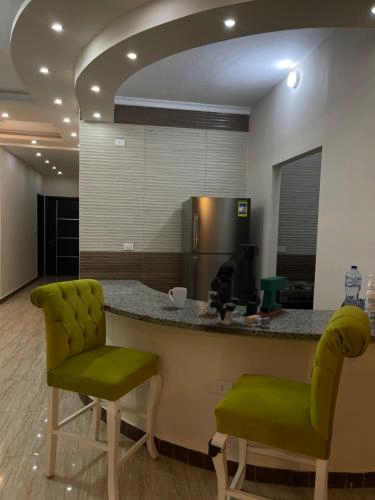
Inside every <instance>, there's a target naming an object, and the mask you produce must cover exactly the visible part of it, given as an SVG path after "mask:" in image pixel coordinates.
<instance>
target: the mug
mask: <svg viewBox="0 0 375 500" xmlns="http://www.w3.org/2000/svg"><path fill="white" fill-rule="evenodd" d="M187 289H188V288H186V287H179V286H178V287H173V289H170V290H169V291H168V297H169V299H170V300H171V301H172V303H174V306H175V308H177V309H183V307H184V305H185V303H186V299H187V294H188V292H187V291H188V290H187ZM171 292H172V295H171Z"/></svg>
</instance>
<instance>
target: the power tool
mask: <svg viewBox="0 0 375 500" xmlns="http://www.w3.org/2000/svg"><path fill="white" fill-rule="evenodd" d="M288 281H289V280H288V277H287V276H278V275H276V276H270V277H263V278H260V282H259V283H260V285H259V286H260V287H259V290H260V291H263V294H262V300H261V304H260V307H259V311H258V314H259V315H264V316H271V315H273V314H274V315H275V314H278V313H280V312H283V311H282V310H284V308H283V307H282V305H283V304H282V303H281V304H280V303H277V302H276V298H277V296H279V291H280V290H283V289H287V285H288Z"/></svg>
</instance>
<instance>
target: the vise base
mask: <svg viewBox="0 0 375 500" xmlns="http://www.w3.org/2000/svg"><path fill="white" fill-rule="evenodd" d="M245 317H246V316H242V315H241V311H239V310H234V311H233V318H232V323H236V324H239V325H240V324H241V325H244V326H247V325H248V327H252V328H255V327H259V326H262V325H261V323H258V322H253V323H247V322H245Z"/></svg>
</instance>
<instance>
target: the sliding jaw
mask: <svg viewBox="0 0 375 500" xmlns="http://www.w3.org/2000/svg"><path fill="white" fill-rule="evenodd" d="M244 317H245V322H247V323H253V322H258V323H261V325H260V326H268V325H270V324H271V318H270V317H262V316H261V315H260V314H259V315H253V316H251V315H247V316H244Z"/></svg>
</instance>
